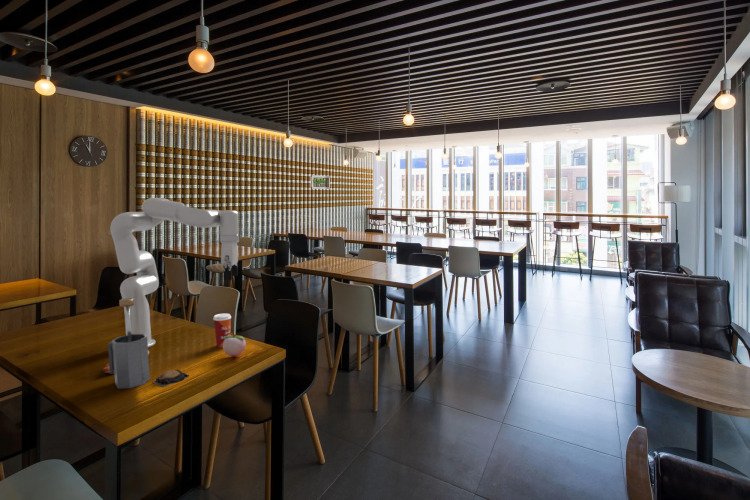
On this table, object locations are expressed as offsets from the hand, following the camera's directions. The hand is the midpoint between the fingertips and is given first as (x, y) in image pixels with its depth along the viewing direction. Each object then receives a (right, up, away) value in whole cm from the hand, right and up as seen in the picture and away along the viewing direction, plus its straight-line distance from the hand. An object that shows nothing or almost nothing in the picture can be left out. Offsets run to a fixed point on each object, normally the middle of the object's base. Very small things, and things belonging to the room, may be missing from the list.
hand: (231, 277), depth 169 cm
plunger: (-23, -23, -33) cm, 46 cm away
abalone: (-11, -35, -29) cm, 47 cm away
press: (-25, -35, -31) cm, 53 cm away
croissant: (-34, -34, -16) cm, 51 cm away
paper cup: (-5, -31, +5) cm, 32 cm away
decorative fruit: (+5, -33, -8) cm, 34 cm away
